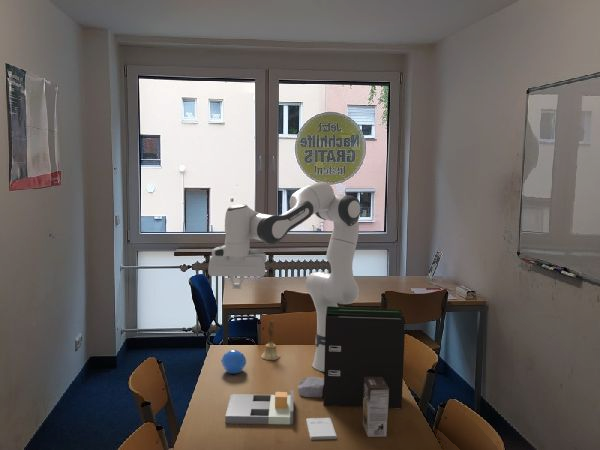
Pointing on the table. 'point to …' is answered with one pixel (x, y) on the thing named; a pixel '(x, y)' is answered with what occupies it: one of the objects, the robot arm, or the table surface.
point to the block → (281, 400)
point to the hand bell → (270, 346)
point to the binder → (362, 353)
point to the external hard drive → (320, 428)
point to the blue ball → (233, 361)
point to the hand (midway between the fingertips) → (236, 288)
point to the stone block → (311, 387)
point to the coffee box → (375, 406)
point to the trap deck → (258, 410)
